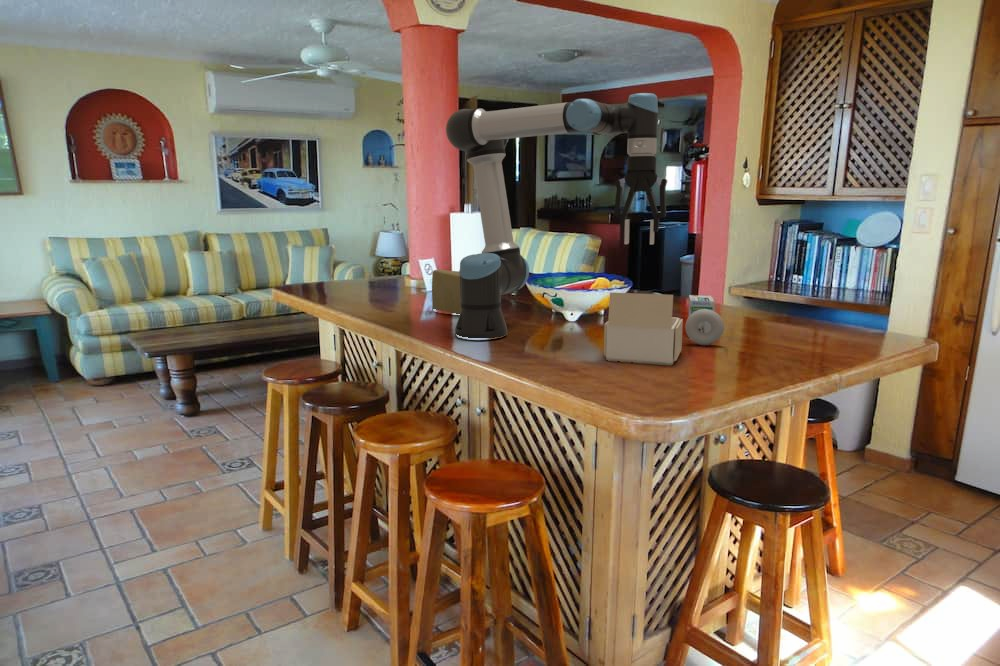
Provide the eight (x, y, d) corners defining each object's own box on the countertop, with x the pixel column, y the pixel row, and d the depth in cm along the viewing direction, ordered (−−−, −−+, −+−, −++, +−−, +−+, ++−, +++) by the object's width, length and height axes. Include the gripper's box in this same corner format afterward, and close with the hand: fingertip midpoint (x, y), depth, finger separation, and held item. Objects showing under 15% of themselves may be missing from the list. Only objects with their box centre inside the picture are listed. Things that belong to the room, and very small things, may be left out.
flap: (608, 325, 168) (609, 292, 167) (608, 325, 168) (610, 292, 168) (671, 328, 163) (673, 294, 162) (671, 328, 163) (673, 295, 163)
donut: (684, 345, 185) (685, 309, 183) (684, 342, 188) (686, 306, 186) (723, 348, 182) (725, 310, 180) (723, 345, 185) (725, 308, 183)
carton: (602, 360, 171) (603, 324, 169) (614, 347, 184) (615, 314, 183) (675, 365, 165) (677, 329, 163) (682, 351, 178) (683, 317, 176)
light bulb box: (714, 338, 193) (716, 300, 191) (689, 338, 194) (691, 300, 192) (710, 331, 203) (712, 295, 201) (687, 330, 204) (688, 294, 202)
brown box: (424, 314, 237) (422, 270, 234) (442, 310, 245) (441, 267, 241) (476, 320, 224) (475, 274, 221) (493, 315, 232) (492, 271, 229)
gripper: (602, 156, 181) (601, 244, 186) (677, 154, 174) (673, 245, 179) (608, 157, 188) (607, 242, 192) (680, 155, 181) (676, 243, 186)
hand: (639, 243), depth 186 cm, fingers open, 6 cm apart
